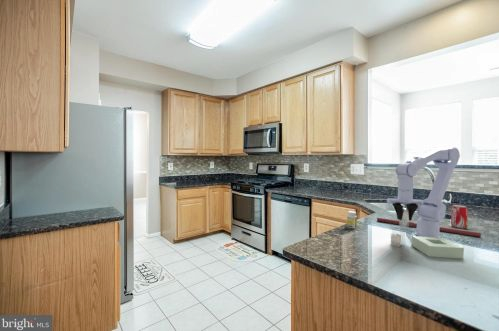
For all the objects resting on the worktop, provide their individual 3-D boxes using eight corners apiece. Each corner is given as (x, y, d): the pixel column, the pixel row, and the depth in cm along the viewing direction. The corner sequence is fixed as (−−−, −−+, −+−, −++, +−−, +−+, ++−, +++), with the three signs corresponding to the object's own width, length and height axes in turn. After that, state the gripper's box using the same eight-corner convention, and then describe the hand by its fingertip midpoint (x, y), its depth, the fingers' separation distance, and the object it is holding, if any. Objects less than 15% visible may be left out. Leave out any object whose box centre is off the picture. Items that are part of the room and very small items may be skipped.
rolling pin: (376, 222, 143) (376, 217, 143) (377, 221, 145) (377, 216, 145) (480, 238, 116) (481, 232, 116) (479, 237, 119) (480, 230, 119)
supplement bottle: (354, 226, 133) (354, 210, 132) (358, 228, 128) (358, 212, 128) (345, 226, 132) (345, 210, 132) (349, 228, 128) (349, 212, 127)
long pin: (397, 224, 111) (398, 207, 111) (406, 225, 111) (406, 208, 110) (401, 227, 107) (402, 209, 107) (410, 227, 107) (411, 209, 107)
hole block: (411, 245, 104) (412, 236, 104) (441, 247, 103) (442, 237, 103) (428, 256, 92) (429, 246, 92) (463, 258, 91) (463, 248, 91)
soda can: (466, 229, 130) (467, 207, 129) (449, 226, 135) (450, 205, 135) (468, 227, 134) (469, 206, 134) (451, 224, 140) (452, 204, 139)
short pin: (389, 243, 106) (389, 233, 106) (398, 243, 106) (398, 233, 105) (393, 246, 102) (393, 235, 102) (402, 246, 102) (402, 236, 102)
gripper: (392, 190, 105) (391, 221, 106) (428, 191, 104) (426, 222, 104) (385, 188, 112) (384, 217, 113) (418, 189, 111) (417, 218, 111)
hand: (404, 219), depth 109 cm, fingers closed on long pin, 4 cm apart
